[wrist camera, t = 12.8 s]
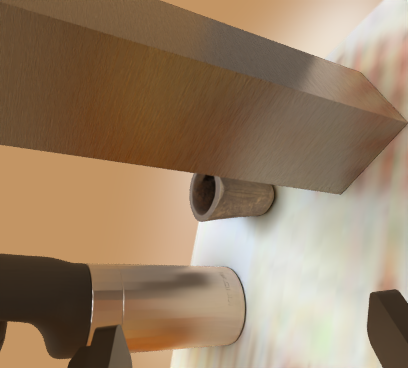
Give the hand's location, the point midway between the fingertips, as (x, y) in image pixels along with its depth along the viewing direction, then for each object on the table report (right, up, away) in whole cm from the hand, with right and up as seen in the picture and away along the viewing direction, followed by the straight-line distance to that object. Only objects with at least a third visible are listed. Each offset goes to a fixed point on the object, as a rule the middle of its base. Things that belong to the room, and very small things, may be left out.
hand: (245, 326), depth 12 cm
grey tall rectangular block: (+11, +9, +21) cm, 25 cm away
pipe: (+4, +2, +33) cm, 34 cm away
